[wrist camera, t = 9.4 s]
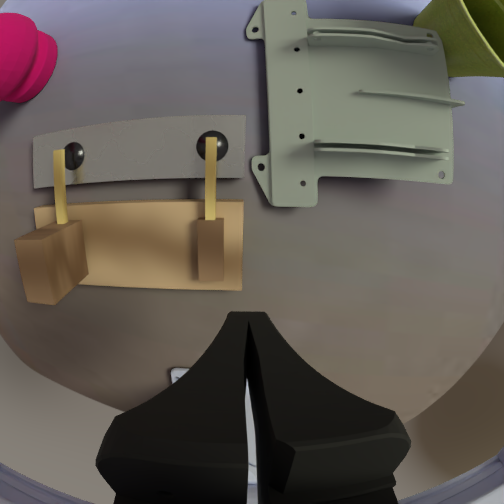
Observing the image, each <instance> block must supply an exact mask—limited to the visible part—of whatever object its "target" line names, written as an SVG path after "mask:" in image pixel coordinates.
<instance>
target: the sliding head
mask: <svg viewBox="0 0 504 504" xmlns="http://www.w3.org/2000/svg"><path fill="white" fill-rule="evenodd" d="M53 170H54V192H55V206H56V217H57V221H55V222H52V223H50V224H48V225H45V226H43V227H41V228H39V229H37V230H34V231H32V232H30V233H28V234H26V235H24V236H22V237H19V238H17V239H15V240H14V241H15V247H16V253H17V258H18V263H19V268H20V273H21V277H22V282H23V286H24V290H25V294H26V298H27V301H28V302H33V303H41V304H48V305H56V304H57V303H58V302H59V301H60V300H61V299H62V298H63V297H64V296H65V295H66V294H67V293H68V292H69V291H71V290H72V289H73V288H74V287H75V286H76V285H77V284H78V283H79V282H81V281H82V280H83V279H84V278H85V277H86V276H87V275H88V274H89V272H88V266H87V259H86V252H85V244H84V236H83V227H82V220H68V214H67V202H66V187H65V149H60V150H54V151H53Z"/></svg>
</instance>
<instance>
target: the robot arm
mask: <svg viewBox="0 0 504 504" xmlns="http://www.w3.org/2000/svg"><path fill="white" fill-rule="evenodd" d="M176 377H179V378H176ZM171 378H172V385H171V386H169V387H168V388H167V389H165V390H164V391H162V392H161V393H159V394H158V395H156V396H155V397H153V398H152V399H150V400H148V401H147V402H145V403H143V404H141V405H139V406H137V407H135V408H133V409H131V410H129V411H127V412H124V413H122V414H120V415H118V416H116V417H115V418H114V420H113V422H112V423H111V425H110V427H109V429H108V430H107V432H106V434H105V436H104V439H103V441H102V444H101V447H100V449H99V452H98V455H97V458H96V467H97V469H98V471H99V472H100V474H101V475H102V477H103V478H104V479H105V480H106V482H107V483H108V484H109V485H110V487H111V488H112V489H113V490H114V491H115V493H116V496H115V500H114V504H504V446H503V448H502V449H501V450H500V451H499V452H498V455H496V456H494V457H493V458H491V459H489V460H487V461H486V462H484V463H482V464H480V465H479V466H477V467H475V468H473V469H471V470H469V471H468V472H466V473H464V474H462V475H460V476H458V477H455V478H453V479H451V480H449V481H447V482H445V483H443V484H440V485H438V486H436V487H433V488H431V489H429V490H426V491H423V492H421V493H418V494H416V495H413V496H410V497H407V498H405V499H402V500H399V501H397V498H396V496H395V493H394V491H393V487H394V486H395V485H396V481H395V478H394V475H393V472H394V471H395V469H396V468H397V467H398V466H399V464H400V463H401V462H402V460H403V459H404V458H405V456H406V455H407V453H408V451H409V449H410V447H411V440H410V438H409V436H408V434H407V432H406V429H405V427H404V425H403V424H402V422H401V420H400V419H399V417H398V416H397V414H396V413H395V411H392V410H390V409H387V408H384V407H382V406H379V405H376V404H374V403H371V402H368V401H366V400H364V399H362V398H360V397H358V396H356V395H354V394H352V393H350V392H348V391H346V390H344V389H343V388H341V387H339V386H337V385H336V384H334V383H333V382H331V381H330V380H328V379H327V378H325V377H324V376H322V375H321V374H320V373H318V372H317V371H316V370H315V369H313V368H312V367H311V366H310V365H309V364H307V363H306V362H305V361H304V360H303V359H302V358H301V357H300V356H299V355H298V354H297V353H296V352H295V351H294V350H293V348H292V347H291V346H290V345H289V344H288V343H287V342H286V340H285V339H284V338H283V337H282V335H281V334H280V333H279V332H278V330H277V329H276V327H275V326H274V324H273V323H272V321H271V320H270V318H269V317H268V315H267V314H266V313H265V312H233V311H231V312H230V313H228V315H227V318H226V320H225V322H224V324H223V326H222V328H221V330H220V331H219V333H218V334H217V336H216V337H215V339H214V341H213V342H212V343H211V345H210V346H209V347H208V349H207V350H206V351H205V352H204V354H203V355H202V356H201V357H200V358H199V360H198V361H197V362H196V363H195V364H194V365H193V366H192V367H191V368H190V369H186V368H173V369H172V370H171ZM0 504H94V503H90V502H87V501H84V500H81V499H79V498H75V497H73V496H70V495H68V494H65V493H62V492H60V491H57V490H55V489H53V488H50V487H48V486H46V485H43V484H41V483H39V482H36V481H34V480H32V479H30V478H28V477H26V476H24V475H22V474H20V473H18V472H16V471H14V470H13V469H11V468H9V467H7V466H5V465H4V464H2V463H0Z"/></svg>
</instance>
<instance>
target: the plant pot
mask: <svg viewBox="0 0 504 504" xmlns="http://www.w3.org/2000/svg"><path fill="white" fill-rule="evenodd" d="M413 26H414V27H420V28H425V29H430V30H435V31H437V33H438V35H439V37H440V38H441V40H442V44H443V49H444V54H445V60H446V66H447V73H448V77H466V76H489V77H503V78H504V0H432V1H431V2H430V3H429V4H428V5H427V6H426V7H425V8H424V9H423V11H422V12H421V13H420V14H419V15H418V16H417V17H416V18H415V20H414V24H413ZM427 37H431V38H433V37H432V35H430V34H427Z"/></svg>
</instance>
